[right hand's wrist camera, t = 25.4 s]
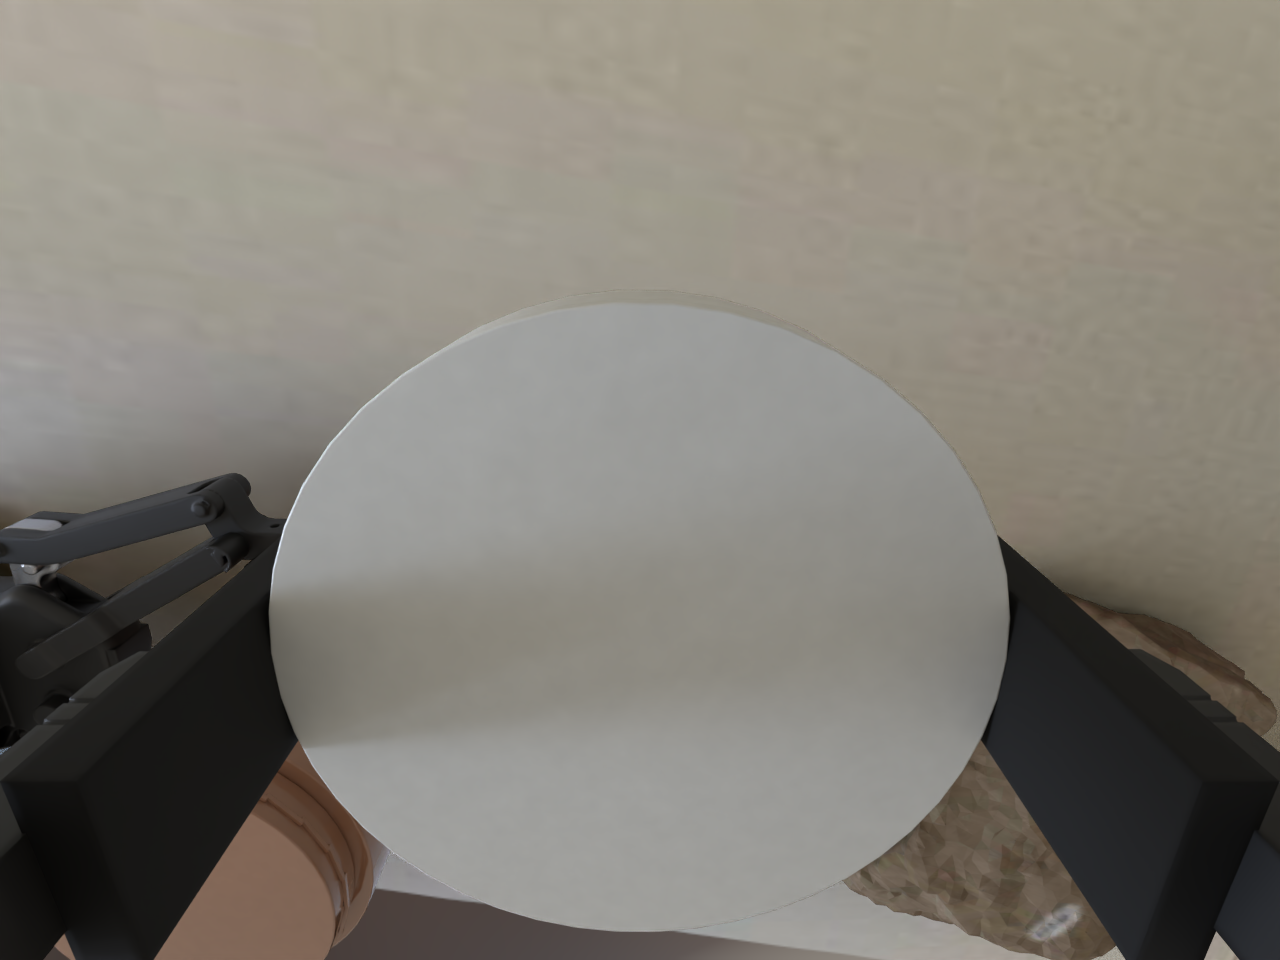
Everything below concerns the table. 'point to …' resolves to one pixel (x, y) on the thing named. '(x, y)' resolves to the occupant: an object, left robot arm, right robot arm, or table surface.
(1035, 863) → the stone
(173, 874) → the right robot arm
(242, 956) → the jar
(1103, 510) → the table surface
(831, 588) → the lid
